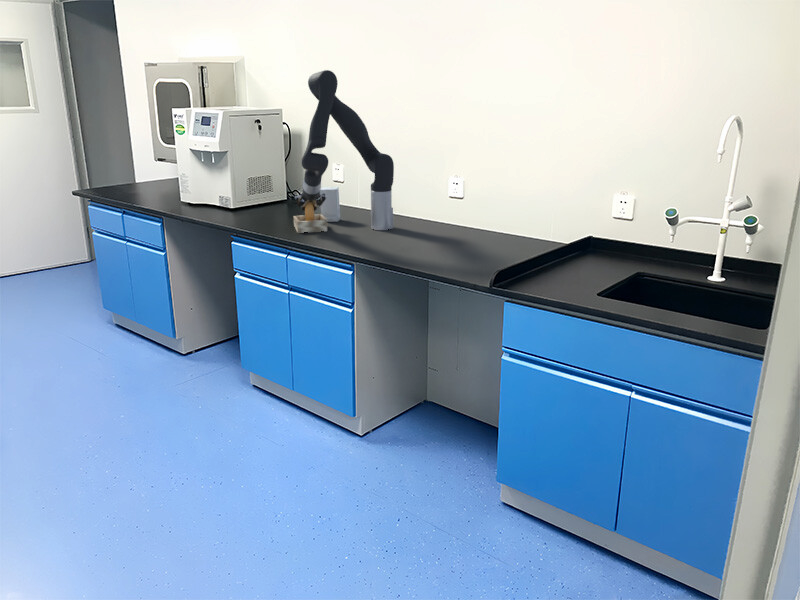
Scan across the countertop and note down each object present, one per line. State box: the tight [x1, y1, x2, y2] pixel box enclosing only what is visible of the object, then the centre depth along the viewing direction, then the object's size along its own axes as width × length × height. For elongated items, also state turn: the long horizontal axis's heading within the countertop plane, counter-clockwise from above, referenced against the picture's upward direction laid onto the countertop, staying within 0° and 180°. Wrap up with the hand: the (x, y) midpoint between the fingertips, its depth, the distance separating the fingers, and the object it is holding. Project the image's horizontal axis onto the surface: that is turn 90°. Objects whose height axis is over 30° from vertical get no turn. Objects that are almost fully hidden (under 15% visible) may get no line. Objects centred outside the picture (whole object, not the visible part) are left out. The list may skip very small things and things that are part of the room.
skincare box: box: [320, 186, 341, 223], centre depth 297 cm, size 8×7×16 cm
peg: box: [304, 202, 315, 221], centre depth 280 cm, size 4×4×12 cm
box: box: [293, 213, 328, 234], centre depth 282 cm, size 13×13×5 cm
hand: (308, 209), depth 282 cm, fingers closed on peg, 4 cm apart
